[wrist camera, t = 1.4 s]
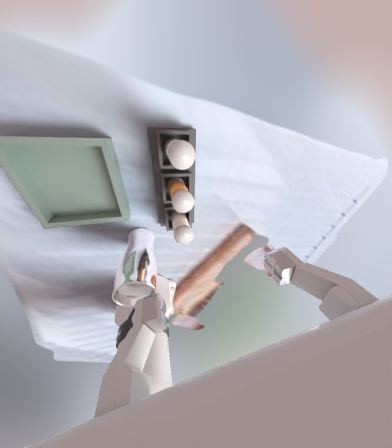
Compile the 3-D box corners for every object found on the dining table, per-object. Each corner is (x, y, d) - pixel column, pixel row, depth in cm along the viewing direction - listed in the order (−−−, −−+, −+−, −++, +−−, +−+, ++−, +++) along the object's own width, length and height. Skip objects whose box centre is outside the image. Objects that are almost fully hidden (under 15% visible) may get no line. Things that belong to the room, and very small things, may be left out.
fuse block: (192, 220, 36) (196, 228, 33) (160, 224, 34) (161, 232, 31) (194, 129, 25) (199, 128, 22) (148, 127, 23) (147, 126, 21)
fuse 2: (184, 218, 33) (193, 242, 26) (170, 220, 33) (175, 245, 25) (184, 205, 32) (193, 227, 24) (169, 207, 31) (174, 230, 24)
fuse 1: (183, 159, 26) (194, 169, 19) (165, 159, 26) (169, 170, 18) (182, 138, 25) (195, 140, 17) (163, 137, 24) (167, 140, 17)
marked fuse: (184, 192, 30) (194, 211, 23) (168, 193, 29) (173, 213, 22) (183, 176, 28) (194, 191, 21) (166, 176, 27) (171, 192, 20)
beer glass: (135, 252, 36) (126, 312, 24) (119, 233, 32) (99, 293, 20) (160, 242, 37) (164, 296, 24) (147, 221, 33) (144, 274, 20)
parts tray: (130, 213, 30) (128, 220, 28) (53, 220, 27) (44, 228, 25) (111, 138, 23) (106, 138, 20) (2, 135, 20) (-19, 135, 17)
